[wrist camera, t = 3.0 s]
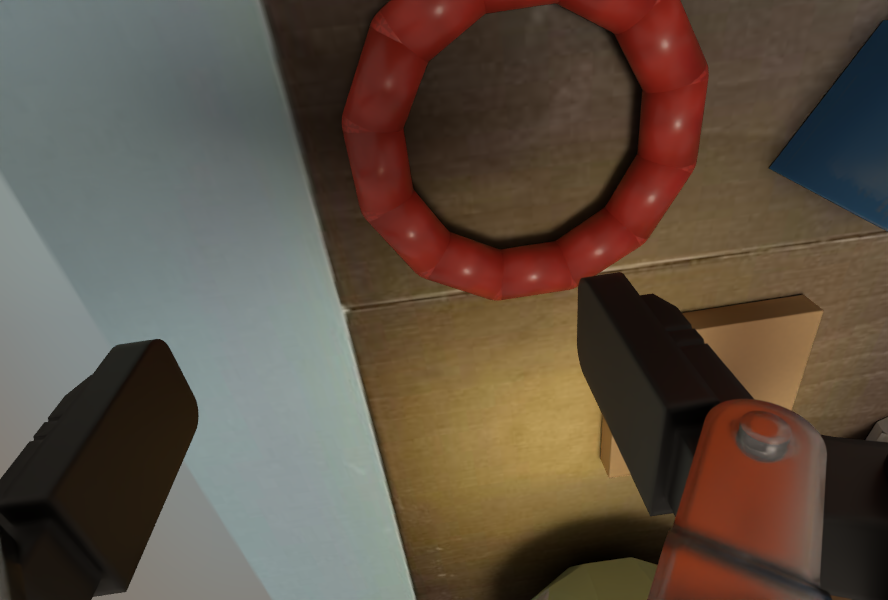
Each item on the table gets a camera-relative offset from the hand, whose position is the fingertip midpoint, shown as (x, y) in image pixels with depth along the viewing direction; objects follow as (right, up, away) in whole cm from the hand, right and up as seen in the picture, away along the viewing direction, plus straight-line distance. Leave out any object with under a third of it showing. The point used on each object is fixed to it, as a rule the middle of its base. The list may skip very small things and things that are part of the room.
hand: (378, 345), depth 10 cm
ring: (+4, +7, +10) cm, 13 cm away
